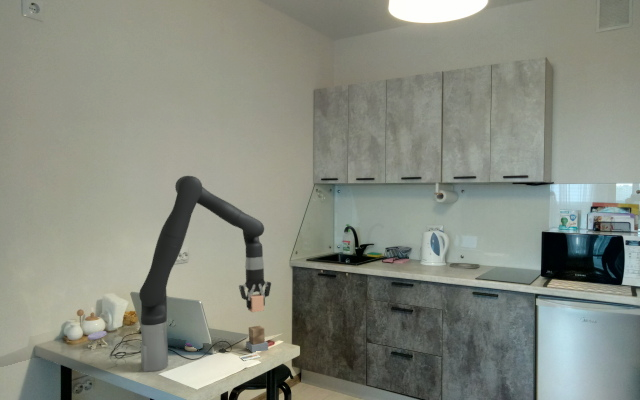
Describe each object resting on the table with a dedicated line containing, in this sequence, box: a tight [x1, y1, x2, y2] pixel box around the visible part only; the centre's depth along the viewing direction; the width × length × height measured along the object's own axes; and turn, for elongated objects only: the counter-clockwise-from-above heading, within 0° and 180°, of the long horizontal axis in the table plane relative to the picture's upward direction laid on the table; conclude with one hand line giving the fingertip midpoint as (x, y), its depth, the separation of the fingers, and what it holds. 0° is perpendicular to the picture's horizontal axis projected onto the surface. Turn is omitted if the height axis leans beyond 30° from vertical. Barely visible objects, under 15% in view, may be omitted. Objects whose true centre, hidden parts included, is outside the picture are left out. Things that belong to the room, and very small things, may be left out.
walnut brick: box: [248, 325, 266, 345], centre depth 188 cm, size 5×5×6 cm
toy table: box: [87, 330, 109, 349], centre depth 197 cm, size 10×9×6 cm
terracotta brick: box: [247, 293, 265, 313], centre depth 188 cm, size 5×5×6 cm
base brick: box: [245, 340, 269, 354], centre depth 188 cm, size 7×7×3 cm
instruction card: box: [239, 353, 261, 362], centre depth 179 cm, size 7×5×1 cm
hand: (255, 307), depth 188 cm, fingers closed on terracotta brick, 5 cm apart
